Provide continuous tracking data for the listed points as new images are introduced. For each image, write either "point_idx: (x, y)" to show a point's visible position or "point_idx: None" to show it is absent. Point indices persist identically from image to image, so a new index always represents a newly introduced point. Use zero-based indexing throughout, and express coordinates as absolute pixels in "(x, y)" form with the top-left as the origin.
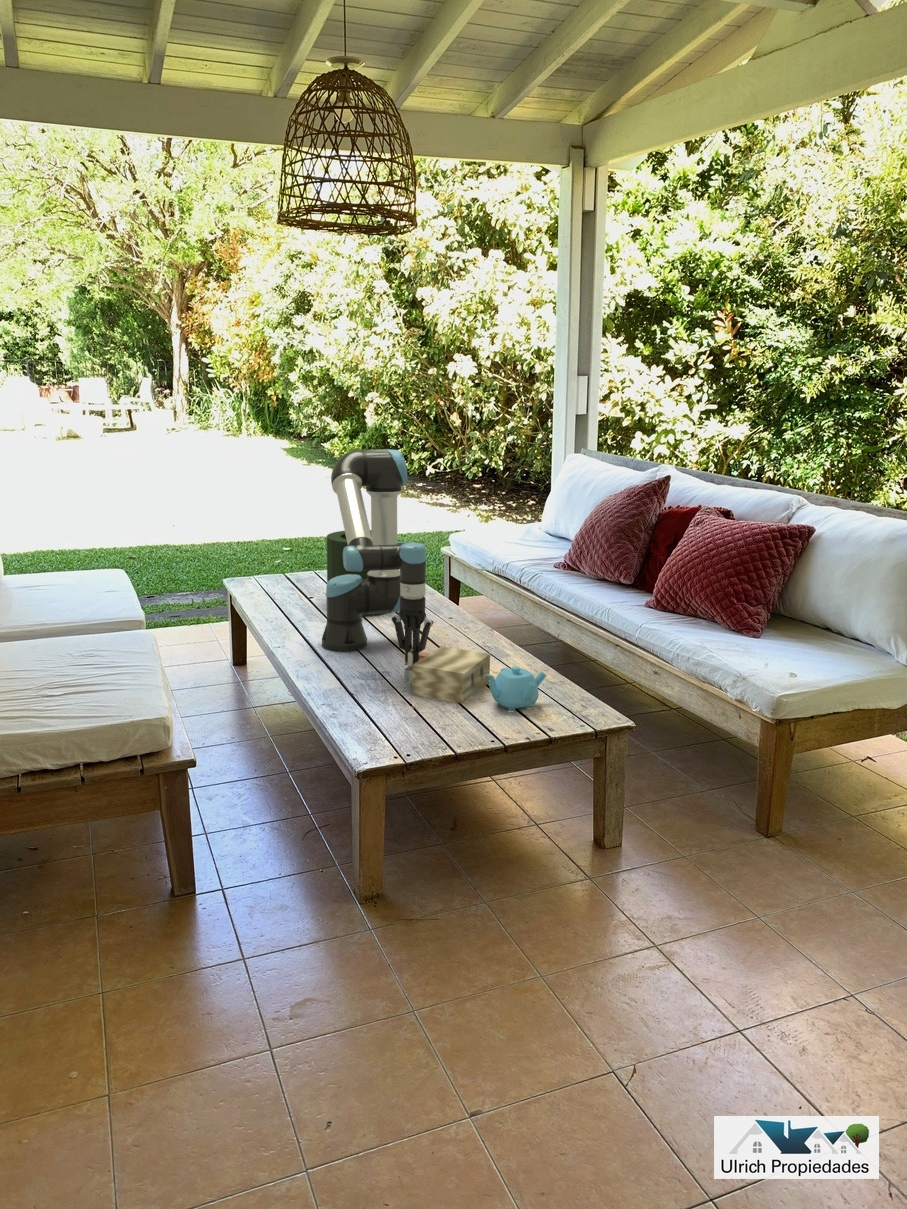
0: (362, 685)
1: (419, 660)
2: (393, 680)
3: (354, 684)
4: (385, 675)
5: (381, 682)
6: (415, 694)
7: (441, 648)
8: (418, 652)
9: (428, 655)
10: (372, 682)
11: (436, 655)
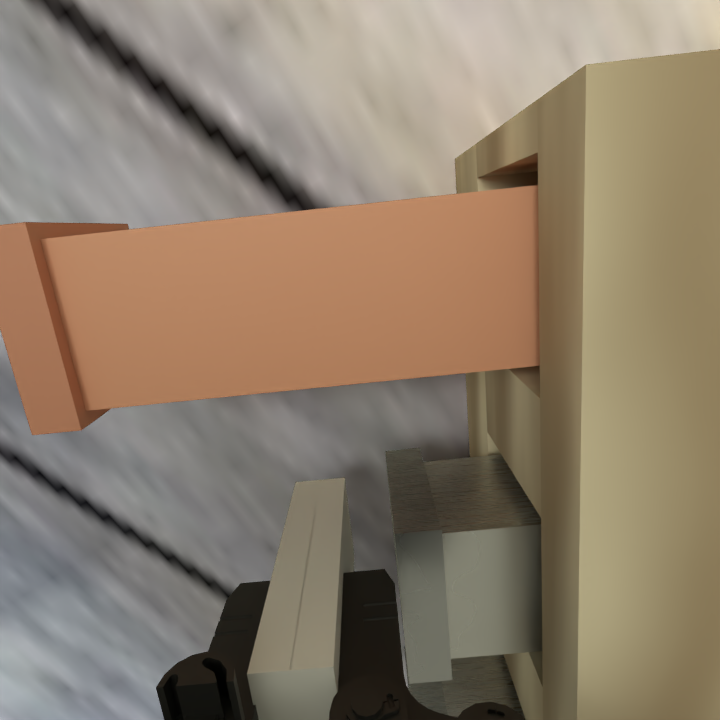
0: (82, 702)
1: (418, 606)
2: (191, 521)
3: (25, 713)
4: (59, 461)
5: (146, 598)
6: None
7: (650, 217)
8: (407, 702)
9: (594, 677)
10: (94, 629)
11: (717, 615)
